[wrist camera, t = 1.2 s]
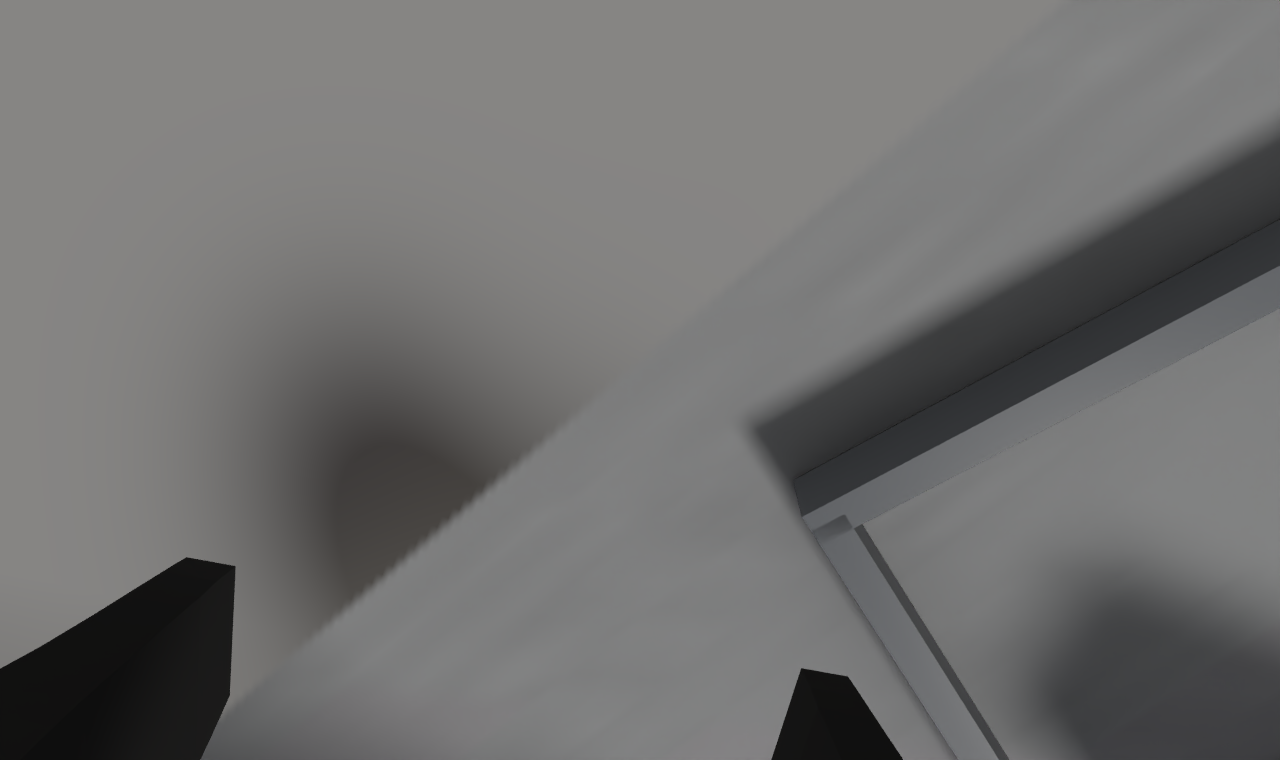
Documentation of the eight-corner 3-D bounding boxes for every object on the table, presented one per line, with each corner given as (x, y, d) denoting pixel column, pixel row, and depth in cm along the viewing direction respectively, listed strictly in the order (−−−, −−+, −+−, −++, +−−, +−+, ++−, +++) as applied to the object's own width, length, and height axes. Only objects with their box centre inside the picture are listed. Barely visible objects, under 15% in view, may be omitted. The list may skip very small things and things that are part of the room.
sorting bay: (1546, 583, 23) (1613, 628, 21) (1007, 815, 26) (1030, 871, 24) (1380, 165, 20) (1444, 179, 18) (793, 480, 23) (801, 517, 21)
